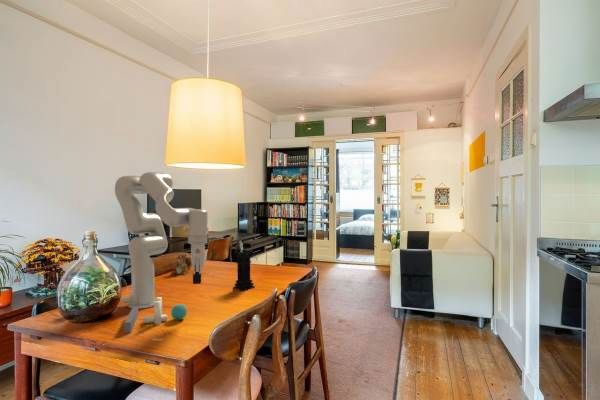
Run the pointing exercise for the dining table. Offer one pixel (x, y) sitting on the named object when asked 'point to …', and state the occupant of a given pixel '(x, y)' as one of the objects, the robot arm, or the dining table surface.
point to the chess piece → (243, 270)
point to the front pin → (151, 318)
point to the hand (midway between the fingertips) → (196, 283)
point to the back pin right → (157, 312)
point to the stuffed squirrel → (182, 264)
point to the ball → (179, 312)
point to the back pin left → (159, 300)
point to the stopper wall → (131, 320)
